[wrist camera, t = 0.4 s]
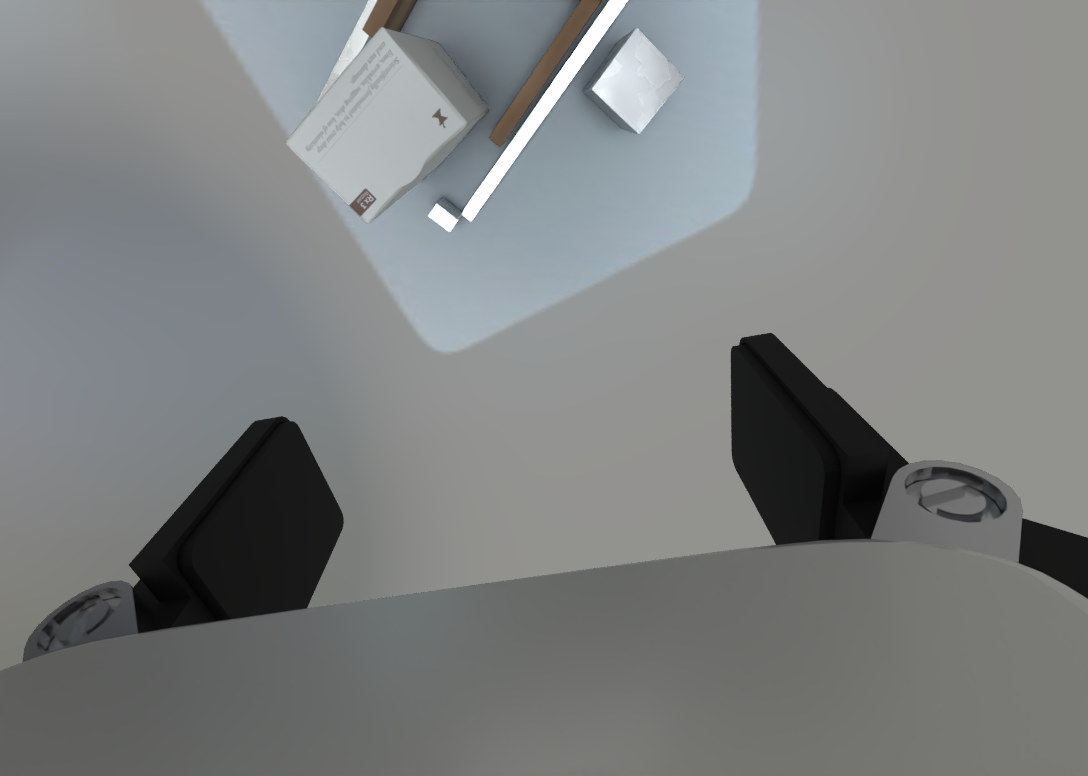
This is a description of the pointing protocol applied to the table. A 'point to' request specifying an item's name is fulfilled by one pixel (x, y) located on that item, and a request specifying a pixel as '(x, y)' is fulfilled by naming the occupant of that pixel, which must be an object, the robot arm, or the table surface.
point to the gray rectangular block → (633, 82)
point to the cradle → (398, 4)
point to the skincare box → (387, 121)
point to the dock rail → (449, 213)
